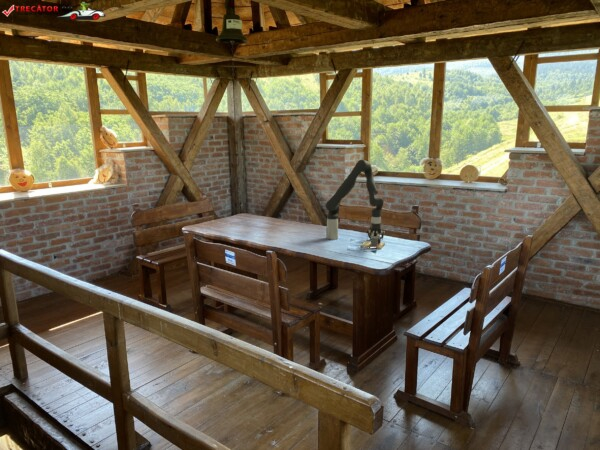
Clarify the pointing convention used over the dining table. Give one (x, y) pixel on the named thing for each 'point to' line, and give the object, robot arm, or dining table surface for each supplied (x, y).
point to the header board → (368, 244)
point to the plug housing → (374, 241)
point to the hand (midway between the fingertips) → (375, 243)
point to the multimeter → (370, 231)
